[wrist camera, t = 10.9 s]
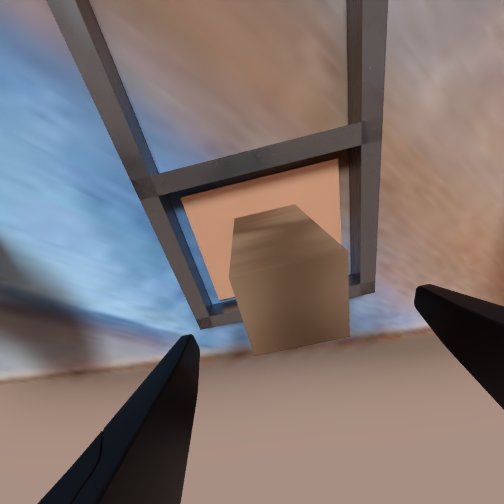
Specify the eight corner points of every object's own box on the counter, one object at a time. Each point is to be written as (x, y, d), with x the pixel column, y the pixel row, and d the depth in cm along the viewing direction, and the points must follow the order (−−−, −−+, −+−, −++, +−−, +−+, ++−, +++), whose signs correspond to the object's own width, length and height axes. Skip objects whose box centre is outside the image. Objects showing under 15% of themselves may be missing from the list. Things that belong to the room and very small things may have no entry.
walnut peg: (248, 269, 17) (254, 355, 10) (234, 218, 15) (228, 277, 8) (301, 257, 17) (349, 336, 9) (294, 204, 15) (347, 250, 7)
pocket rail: (203, 317, 19) (200, 329, 18) (19, -98, 9) (-21, -144, 7) (364, 282, 18) (374, 292, 17) (373, -218, 8) (401, -296, 7)
